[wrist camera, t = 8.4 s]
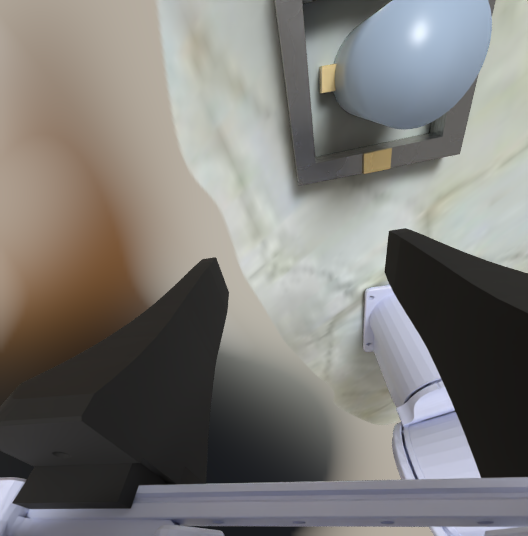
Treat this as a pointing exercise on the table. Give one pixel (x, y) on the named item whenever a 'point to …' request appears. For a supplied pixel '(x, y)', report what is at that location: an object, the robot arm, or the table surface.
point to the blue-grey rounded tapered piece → (410, 61)
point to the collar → (361, 159)
